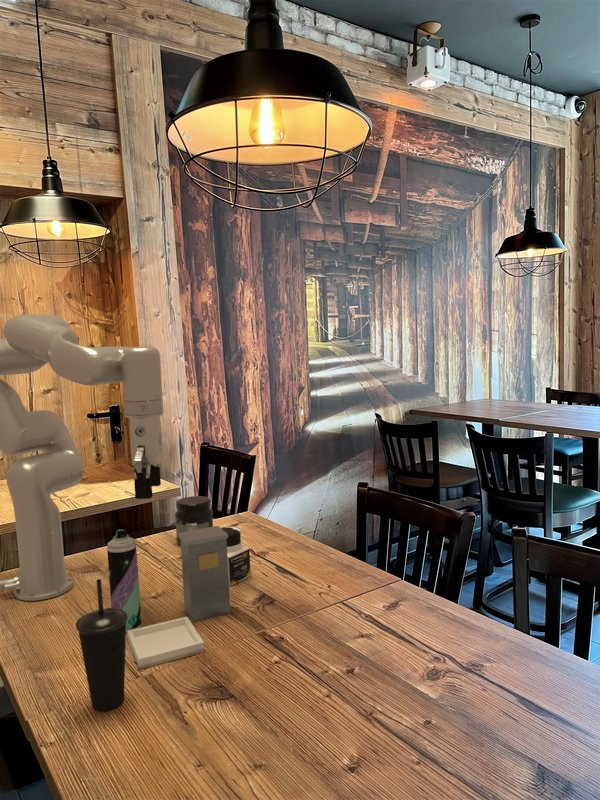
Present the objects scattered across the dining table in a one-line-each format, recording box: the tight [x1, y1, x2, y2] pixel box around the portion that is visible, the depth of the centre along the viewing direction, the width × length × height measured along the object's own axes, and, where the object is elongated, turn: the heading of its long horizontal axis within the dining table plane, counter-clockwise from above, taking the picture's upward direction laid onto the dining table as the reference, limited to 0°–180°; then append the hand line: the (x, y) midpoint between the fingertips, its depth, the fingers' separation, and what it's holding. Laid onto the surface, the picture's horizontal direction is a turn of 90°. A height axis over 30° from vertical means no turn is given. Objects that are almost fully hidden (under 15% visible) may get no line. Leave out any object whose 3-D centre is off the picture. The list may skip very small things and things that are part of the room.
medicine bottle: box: [220, 526, 252, 587], centre depth 140 cm, size 7×7×12 cm
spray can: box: [106, 528, 143, 635], centre depth 117 cm, size 6×6×20 cm
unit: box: [178, 525, 231, 623], centre depth 123 cm, size 9×7×17 cm
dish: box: [126, 616, 205, 670], centre depth 110 cm, size 12×12×2 cm
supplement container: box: [174, 495, 214, 546], centre depth 167 cm, size 10×10×12 cm
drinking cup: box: [75, 578, 128, 712], centre depth 92 cm, size 8×8×20 cm
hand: (148, 491), depth 121 cm, fingers open, 9 cm apart
